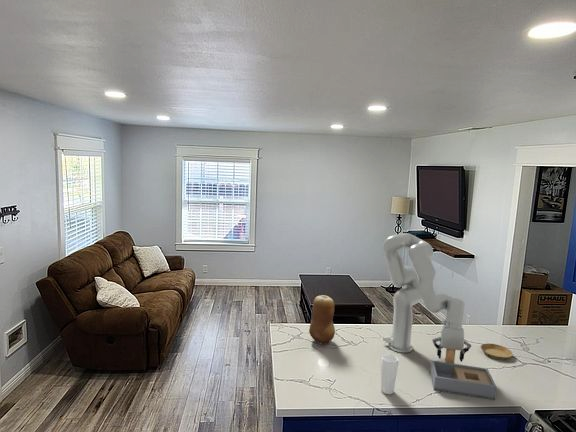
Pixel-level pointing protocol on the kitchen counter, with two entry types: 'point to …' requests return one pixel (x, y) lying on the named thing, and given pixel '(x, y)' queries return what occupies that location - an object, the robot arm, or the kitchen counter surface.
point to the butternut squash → (322, 320)
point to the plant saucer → (496, 351)
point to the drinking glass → (388, 373)
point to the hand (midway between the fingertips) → (450, 358)
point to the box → (462, 380)
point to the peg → (450, 356)
